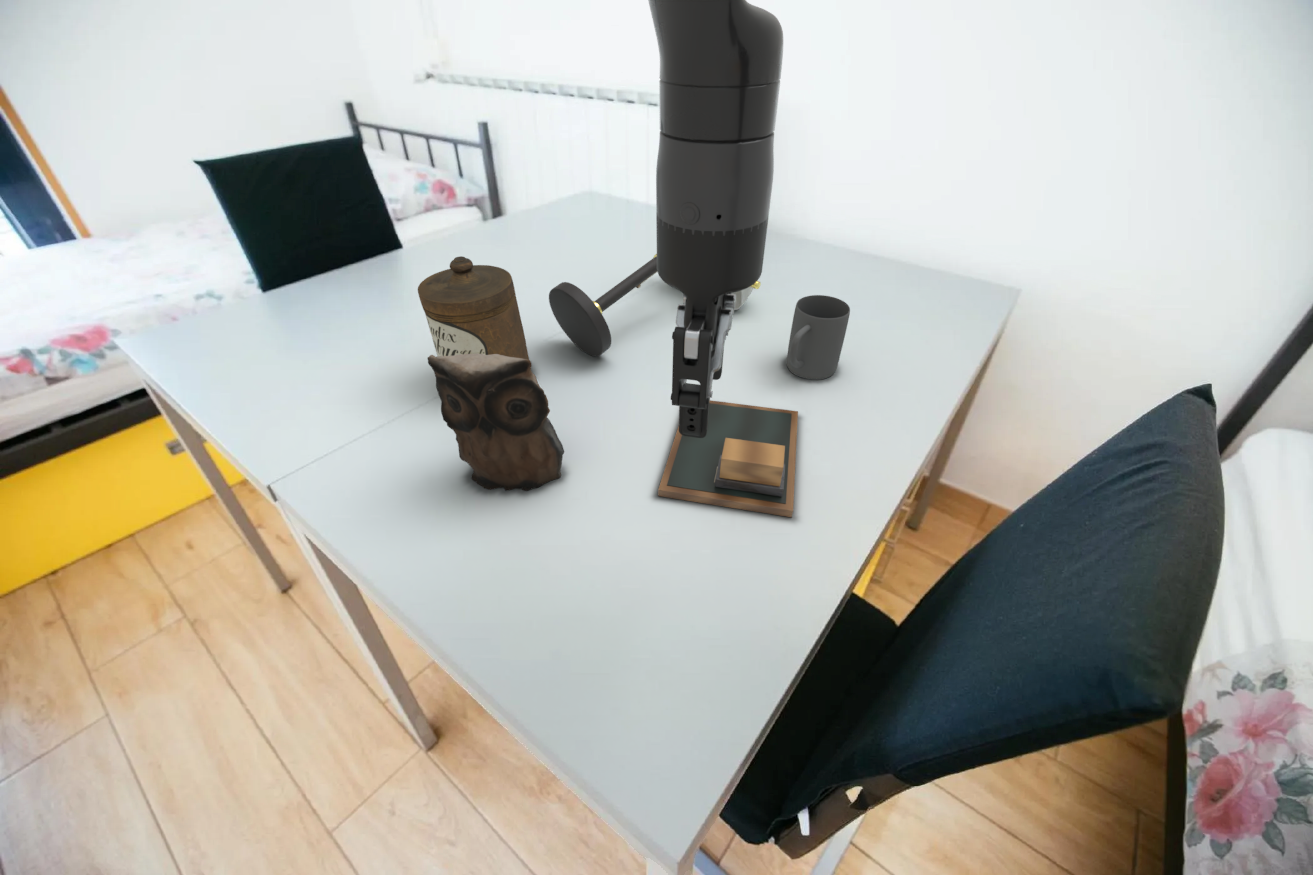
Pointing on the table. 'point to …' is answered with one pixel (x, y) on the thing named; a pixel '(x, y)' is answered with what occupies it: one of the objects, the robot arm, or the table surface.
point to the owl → (498, 419)
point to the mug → (817, 336)
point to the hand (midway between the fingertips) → (701, 403)
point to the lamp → (586, 316)
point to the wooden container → (473, 311)
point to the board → (699, 457)
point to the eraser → (751, 467)
